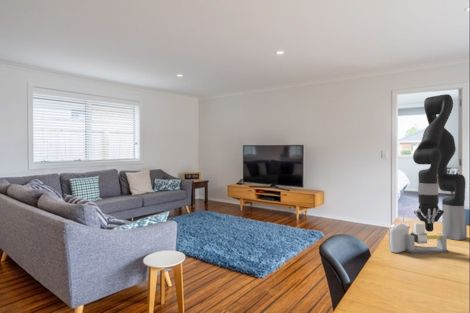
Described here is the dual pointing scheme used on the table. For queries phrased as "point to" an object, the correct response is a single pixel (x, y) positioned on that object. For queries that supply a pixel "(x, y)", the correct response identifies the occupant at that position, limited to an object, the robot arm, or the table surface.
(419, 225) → the white stepped block
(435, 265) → the table surface
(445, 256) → the table surface
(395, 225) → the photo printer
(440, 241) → the slider rail
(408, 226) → the smoothie
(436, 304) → the table surface
